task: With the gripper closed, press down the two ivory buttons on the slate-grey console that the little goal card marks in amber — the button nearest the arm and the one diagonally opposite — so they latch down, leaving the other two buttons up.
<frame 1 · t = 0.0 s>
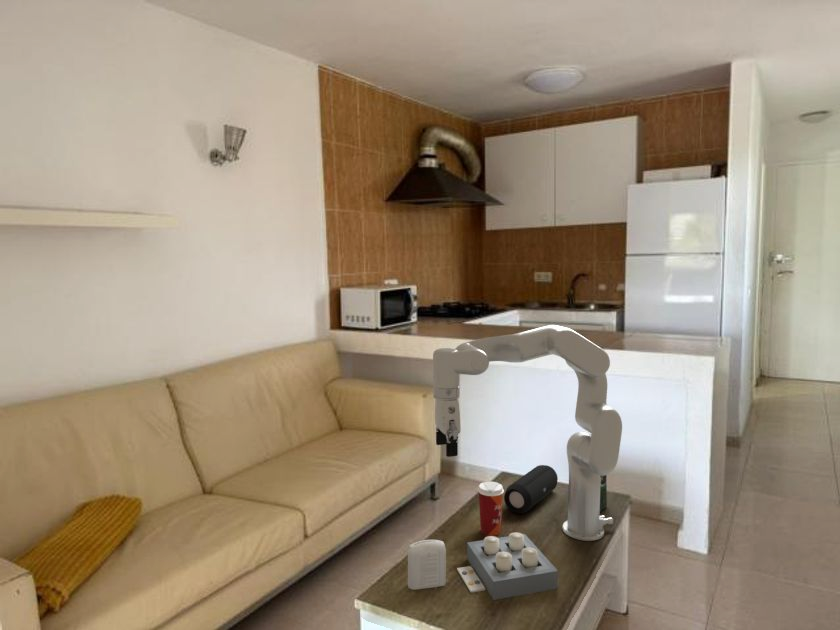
hand: (446, 450, 164), 31 cm above the table, tool pointing down, fingers open, 9 cm apart
button C: (491, 547, 159), point 6 cm above the table, slide at 0.0 cm
console: (510, 573, 157), on the table
goal card: (470, 579, 154), on the table
button D: (503, 563, 151), point 6 cm above the table, slide at 0.0 cm
button B: (529, 559, 153), point 6 cm above the table, slide at 0.0 cm
coffee cup: (490, 532, 180), on the table
button A: (516, 543, 161), point 6 cm above the table, slide at 0.0 cm
portable speaker: (531, 502, 201), on the table
photo printer: (427, 585, 152), on the table
coffee jar: (592, 507, 196), on the table
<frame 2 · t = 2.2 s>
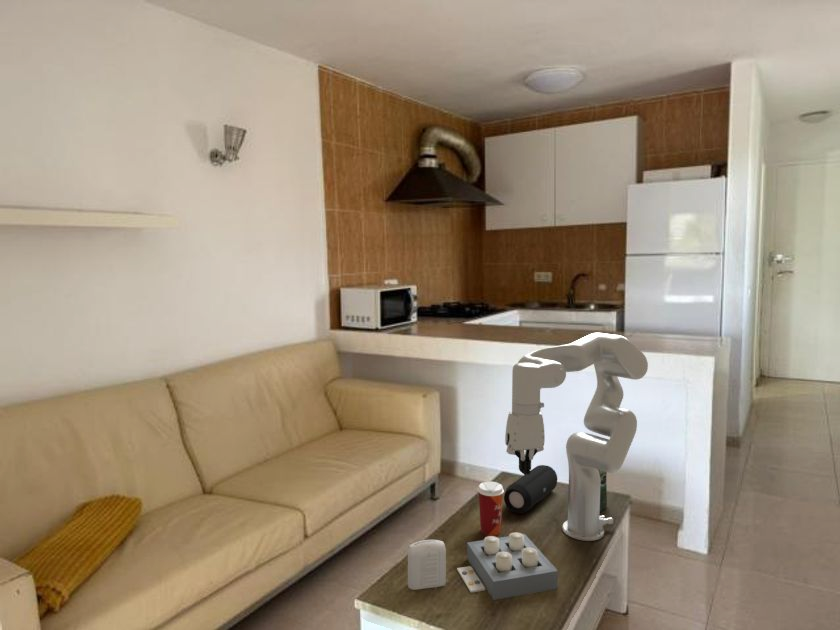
hand: (524, 472, 158), 27 cm above the table, tool pointing down, fingers closed
nothing on the table moved.
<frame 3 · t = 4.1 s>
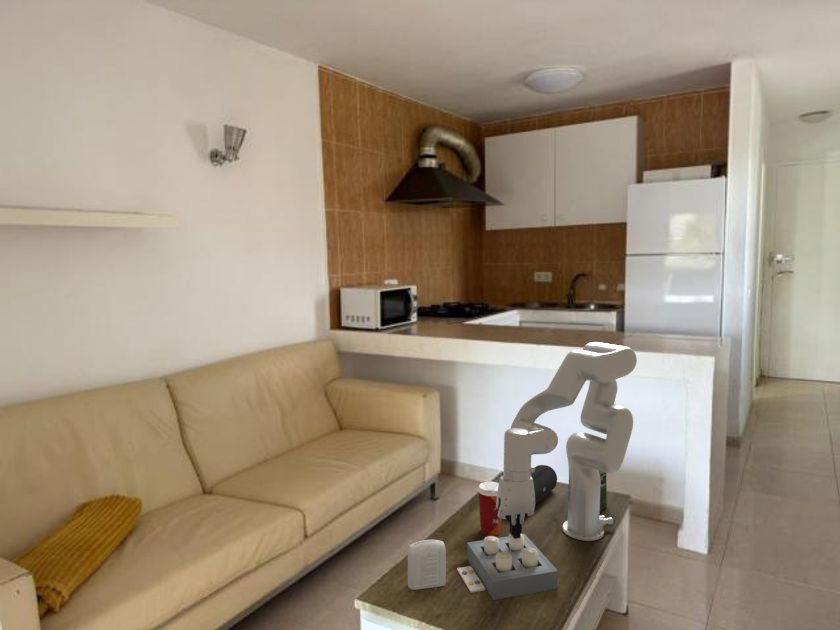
hand: (515, 535, 161), 8 cm above the table, tool pointing down, fingers closed
button A: (516, 543, 161), point 6 cm above the table, slide at 0.0 cm, touching gripper
everything else where it was.
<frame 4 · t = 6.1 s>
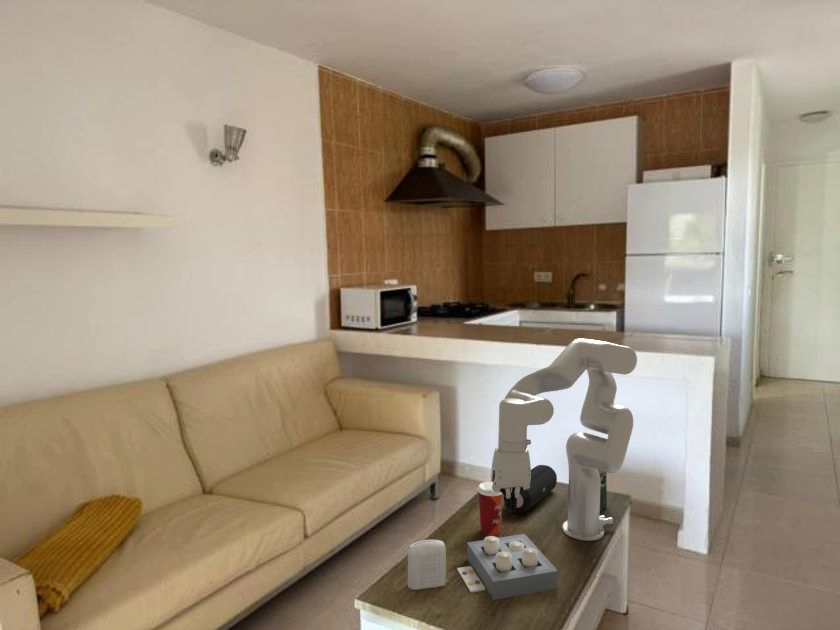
hand: (510, 510, 155), 18 cm above the table, tool pointing down, fingers closed
button A: (516, 552, 161), point 3 cm above the table, slide at 2.7 cm
everything else where it was.
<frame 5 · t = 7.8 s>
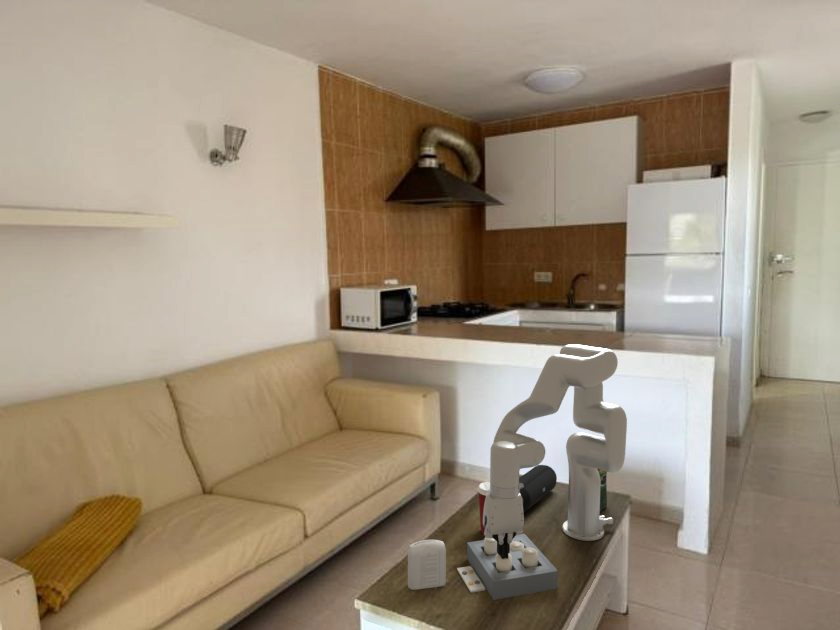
hand: (503, 555, 151), 8 cm above the table, tool pointing down, fingers closed
button D: (503, 564, 151), point 6 cm above the table, slide at 0.2 cm, touching gripper
everything else where it was.
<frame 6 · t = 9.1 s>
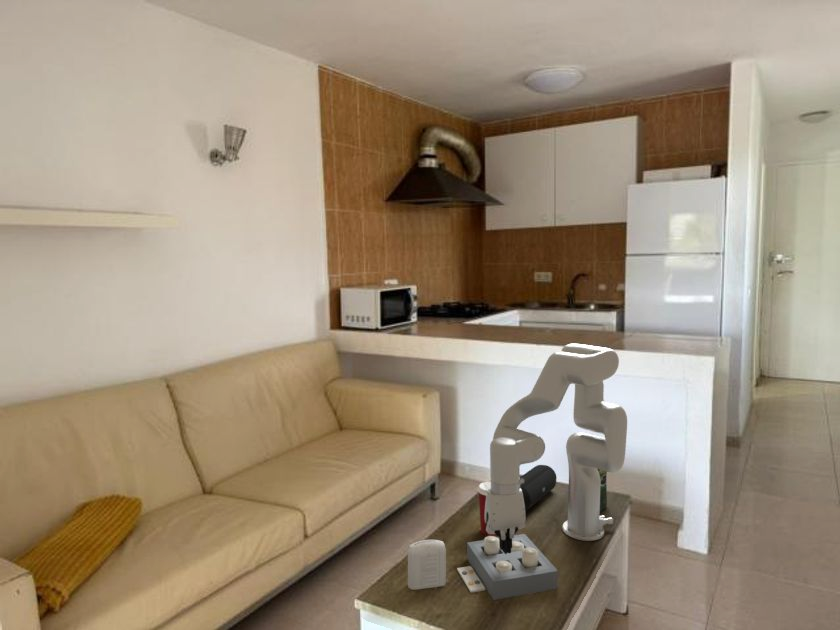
hand: (505, 550, 151), 9 cm above the table, tool pointing down, fingers closed
button D: (503, 573, 151), point 3 cm above the table, slide at 2.6 cm
everything else where it was.
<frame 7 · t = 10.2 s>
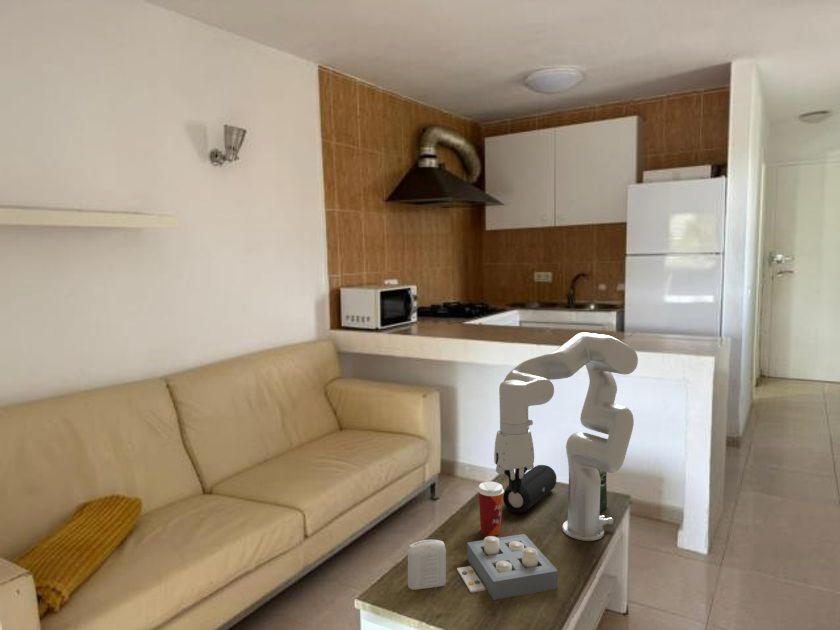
hand: (515, 491, 155), 23 cm above the table, tool pointing down, fingers closed
nothing on the table moved.
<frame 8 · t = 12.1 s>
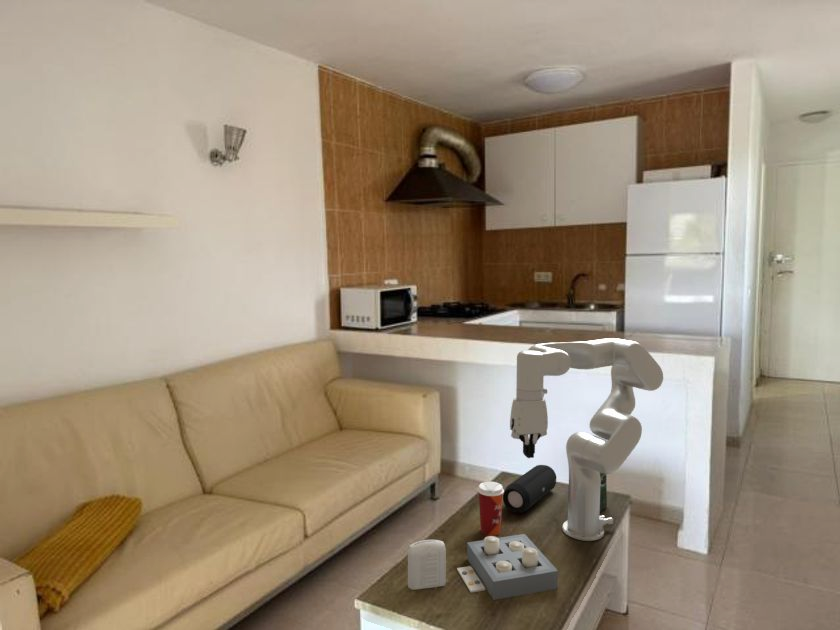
hand: (528, 456, 164), 29 cm above the table, tool pointing down, fingers closed
nothing on the table moved.
at the end: button A slide at 2.7 cm; button D slide at 2.6 cm; button B slide at 0.0 cm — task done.
